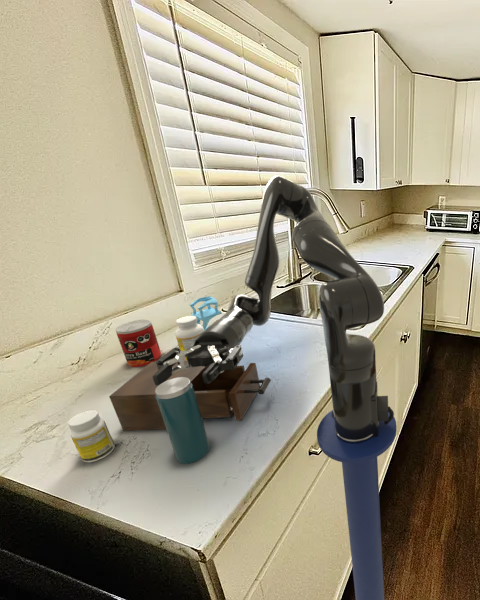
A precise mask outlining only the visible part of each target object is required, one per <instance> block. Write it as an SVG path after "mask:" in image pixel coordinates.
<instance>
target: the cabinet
mask: <svg viewBox="0 0 480 600" xmlns="http://www.w3.org/2000/svg"><path fill="white" fill-rule="evenodd" d="M184 363H185V365H187V364H188V361H184ZM177 366H178V363H176V364H175V365H174V366H172V367H173V368H175V367H177ZM209 366H210V365H209ZM209 366H205V367H204V366H198V367H193V368H191V369H189V370H186V371H178V372H176V373H174V374H172V376H171V377H169V378H168V379H167V380H170V379H173V378H178V377H185V378H188V379H189V380H190V383H192V384H193V383H194V382H195V381H196V380H197V379H198V378H199V376H200V375H201V374H202V373H203V372H204V371H205V370H206V369H207V368H208V367H209ZM157 371H158V368H157V365H156V361H155V362H151V363H150V364H148V365H146V366H144V367H143V368H142V369H141V370H140V371H138V372H137V373H135V375H133V376H132V377H131V378H129V380H127V381H126V382H124V384H123V385H121V386H119V387H118V389H116V390H114V391H113V392H112V393H111V394H110V395H109V396H108V397H109V400H110V402H111V404H112V407H113V409H114V412H115V414H116V417H117V420H118V422H119V424H120V427H121V430H122V431H124V432H125V431H127V432H128V431H147V430H150V431H151V430H167V429H166V426H165V423H164V420H163V418H162V415H161V412H160V409H159V406H158V403H157V400H156V397H155V396H156V392H155V390H156V388H157V387H158V386H156V385H155V383H154V380H153V377H152V376H153V375H154V374H155V373H156V372H157ZM167 380H166V381H167Z"/></svg>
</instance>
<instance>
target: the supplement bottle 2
mask: <svg viewBox="0 0 480 600" xmlns="http://www.w3.org/2000/svg"><path fill="white" fill-rule="evenodd" d="M175 323H176V326H177V327H178V328H177V329H176V330H175V332H174V335H175V338H176V342H177V345H178V347H179V349H180V351H186V350H187V349H189V348H191V347H193V345H194V343H195V340H196V338H197V337H198V336H199V335H200V334H201V333H202V332H203V331H204V328H203V324H201V323H200V324H197V318H196V316H191V315H186V316H182V317H180V318H178V319H176V321H175ZM183 360H184V361H187V358H186V357H184V359H183Z"/></svg>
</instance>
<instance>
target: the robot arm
mask: <svg viewBox="0 0 480 600" xmlns="http://www.w3.org/2000/svg"><path fill="white" fill-rule="evenodd" d="M262 196H263V197H262V201H261V206H260V212H259V217H258V224H257V230H256V235H255V243H254V249H253V253H252V256H251V259H250V262H249V266H248V268H247V272H246V276H245V277H244V285H245V286H246V288H248V289H250V290H252V291H253V292H255V293H256V294H257V296H258V298H256V297H253V296H251V295H247V294H244V293H239V294H236V295H234V296H233V297H232V298H231V300H230V302H229V303H228V304H229V305H228V309H227V310H226V313H224V314H223V315H222V316H221V317H220V318H219V319H217V320H215V321H213V323H211V324H210V325H208V326H209V327H208V326H207V327H208V328H207V329H206V330H205V331H203V332H202V333H201V334H200V335H199V336H198V337H197V338H196V340H195V343H194V345H193V347H191V348H189V349H187V350H186V351H180V349H179V346H176V347H172V348H171V350H169V351H168V352H166V353H165V354H163V356H162V355H161V357H160V358H159V359H158V360H157V361H155V362H156V365H157V368H158V371H157V372H156V373H155V374H154V375H153V376H152V377H153V380H154V383H155V385H156V386H159V385H160V384H162V383H163V382H165V381H166V380H167V379H168V378H169V377H171V376H172V374H174V373H176V372H178V371H186V370H189V369H191V368H193V367H198V366H204V367H205V366H209V365H210V366H209V367H208V368H207V369H206V370H205V372H204V373H203V374H202V377H203V381H204V384H209V383H210V382H211V381H213V380H214V379H215V378H216V377H217V376H218V375H219V374H220V373H222V372H224V370H226V369H228V371H233V370H234V369H235V368H236V366H239V363H240V362H241V360H242V359H243V357H244V353H243V348H242V345H241V344H242V342H243V341H244V339H245V337H246V336H247V335H248V334H249V333H250V332H251V330H252V328H253V327H254V326H257V327H261V326H264V325H266V324H267V323H268V321H269V320H270V318H271V314H272V294H273V293H272V291H273V290H272V289H273V286H274V283H275V280H276V277H277V274H278V271H279V268H280V254H279V250H278V246H277V241H276V236H275V230H274V229H275V227H274V225H275V219H276V215H278V216H281V217H283V218H286V219H289V220H292V221H294V222H295V225H294V226H293V230H292V235H291V236H292V237H291V238H292V242H293V245H294V247H295V249H296V251H297V253H298V254H299V257H300V258H301V260H302V261H303V262H304V263H305V264H306V265H307V266H308V267H310V268H312V269H314V270H315V271H316V272H318V273H321V274H324V275H325V276H328V277H330V278H332V279H333V280H329V281H325V282H323V283H322V284H321V285H320V286H319V289H318V305H319V312H320V317H321V323H322V329H323V337H324V344H325V349H326V355H327V363H328V374H329V384H330V392H331V393H330V394H331V401H332V403H331V404H332V410H333V412H332V418H333V417H334V424H335V433H336V435H337V437H338V438H339V439H340V440H342V441H344V442H347V443H362V442H365V441H367V440H369V439H371V438H372V437H378V435H379V421H384V424H386V425H387V424H388V423H389V422H390V421H391V420H392V419H393V416H394V415H395V412H394V410H393V409H392V407H391V406H389V396H388V395H379V392H378V391H379V389H378V381H377V361H376V346H375V344H374V342H373V340H372V339H370V338H369V337H367V336H364V335H360V334H355V333H347V331H348V330H351V329H355V328H359V327H363V326H366V325H370V324H373V323H376V322H377V321H379V320H380V319H381V318H382V317H383V315H384V313H385V301H384V298H383V295H382V292H381V290H380V287H379V285H378V284H377V283H376V281H375V280H374V278H373V277H372V276H371V275H370V274H369V273H368V272H367V271H366V269H364V268H363V267H362V266H361V264H360V263H359V262H357V260H356V258H354V257H353V256H352V255H351V253H350V252H349V251H348V249H347V248H346V247H345V245H344V244H343V243H342V241H341V239H340V238H339V236H338V235H337V233H336V232H335V231H334V229H333V228H332V227H331V225H330V223H328V221H327V220H326V219H325V217H324V215H323V214H322V213H321V211H320V209H319V207H318V206H317V204H316V201H315V199H314V197H313V195H312V193H311V192H310V191H309V189H307V188H306V187H305V186H302V185H301V184H298V183H296V182H294V181H291V180H290V179H287V178H286V177H284V176H280V175H274V176H273V177H271V178H270V180H268V183H267V184H266V186H265V189H264V193H263V195H262ZM184 357H186V358H187V361H188V364H187V365H185V363H184V360H183V359H184ZM176 363H178V366H177V367H175V368H173V367H172V366H174V365H175V364H176ZM388 412H389V413H390V416H389V417H388ZM394 417H395V416H394Z"/></svg>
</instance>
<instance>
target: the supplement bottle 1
mask: <svg viewBox="0 0 480 600" xmlns="http://www.w3.org/2000/svg"><path fill="white" fill-rule="evenodd" d="M67 425H68V428H69V430H70V433H69V435H70V438H71V441H72V442H73V444H74V446H75V448H76V450H77V452H78V454H79V456H80V458H81V461H82V462H85V463H93V462H97V461H100V460H102V459H104V458H105V457H107V456H109V455H110V454H111V453H112V452H113V451H114V449H115V448H116V447H115V446H116V445H115V442H114V439H113V437H112V435H111V433H110V430H109V427H108V425H107V424H106V421H105V420H104V419H103V418H101V416H100V415H99V412H98V411H97V410H92V409H90V410H86V411H82V412H79V413H77V414H75V415H73V417H71V418H70V419H68V422H67Z"/></svg>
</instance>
